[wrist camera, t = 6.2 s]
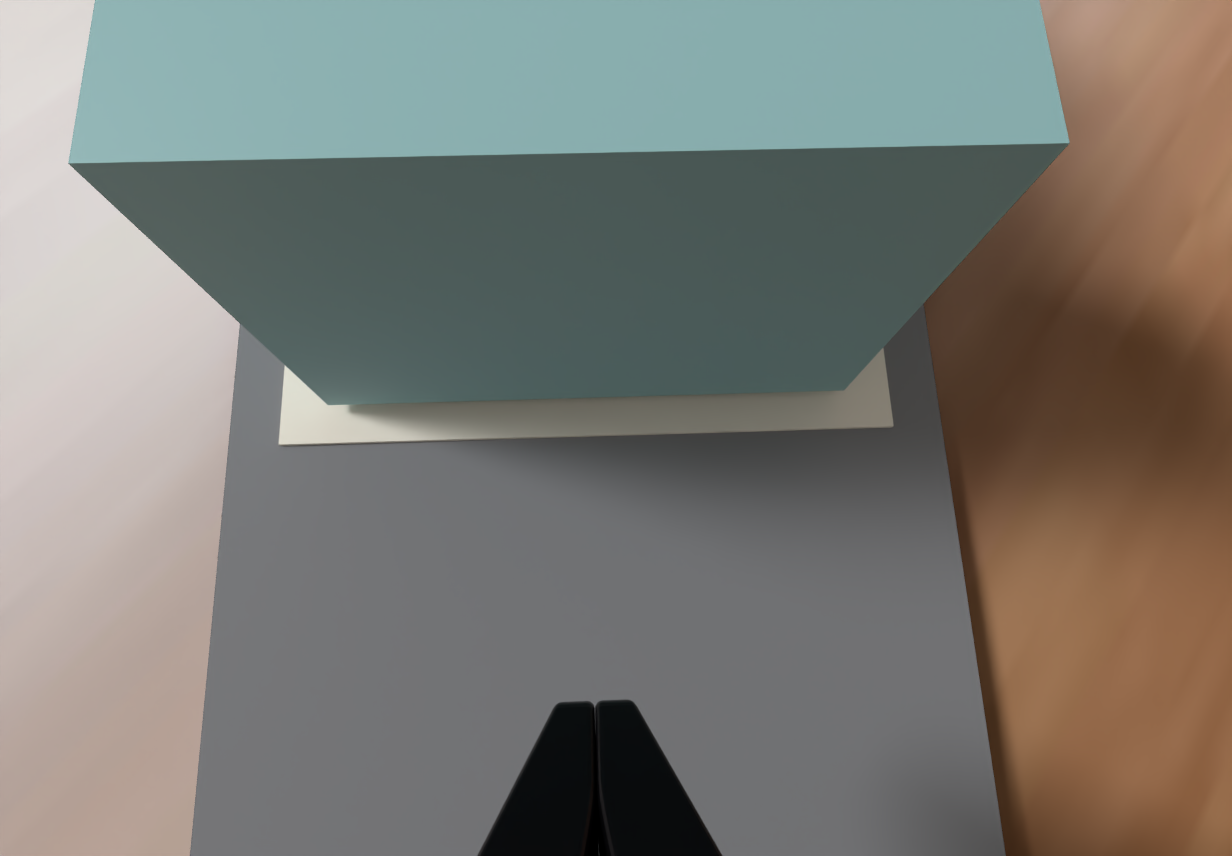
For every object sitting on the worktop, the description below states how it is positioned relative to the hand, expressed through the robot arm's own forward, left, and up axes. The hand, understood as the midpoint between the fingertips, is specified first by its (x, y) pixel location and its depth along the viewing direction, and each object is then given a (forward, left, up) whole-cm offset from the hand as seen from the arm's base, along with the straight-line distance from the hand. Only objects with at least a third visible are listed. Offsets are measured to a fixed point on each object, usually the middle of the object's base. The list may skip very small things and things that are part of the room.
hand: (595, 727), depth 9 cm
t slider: (+11, +2, -6) cm, 12 cm away
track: (+7, +1, -7) cm, 10 cm away
